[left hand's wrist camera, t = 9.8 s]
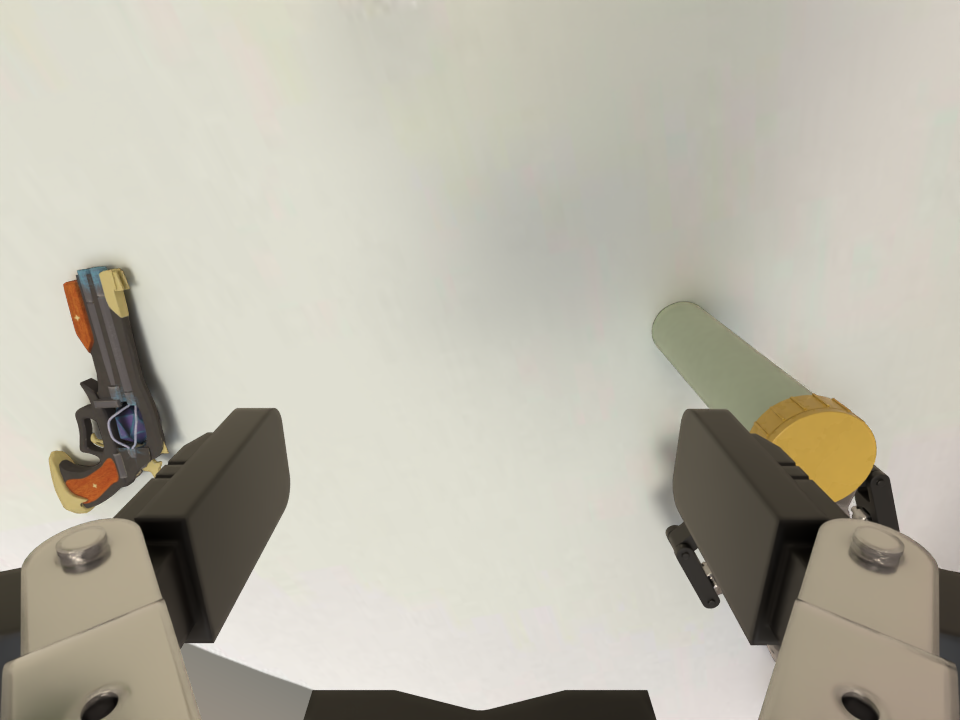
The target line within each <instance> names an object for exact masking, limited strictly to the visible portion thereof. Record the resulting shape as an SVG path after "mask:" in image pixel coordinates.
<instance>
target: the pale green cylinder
mask: <svg viewBox="0 0 960 720" xmlns="http://www.w3.org/2000/svg"><path fill="white" fill-rule="evenodd" d="M652 337H653V341H654V343H655V345H656V346H657V347H658V348H659V350H660V351H661V352H662V353H663V354H664V356H665V357H666V358H667V359H668V360H669V361H670V363H671V364H672V365H673V366H674V367H675V369H676V370H677V371H678V372H679V373H680V374H681V376H682V377H683V378H684V379H685V380H686V382H687V383H688V384H689V385H690V386H691V387H692V389H693V390H694V391H695V392H696V393H697V395H698V396H699V397H700V398H701V399H702V400H703V402H704V403H705V404H706V405H707V406H708V408H709V409H727V410H729V411H730V412H731V413H732V414H733V415H734V416H735V417H736V418H737V420H738V421H739V422H740V423H741V424H742V425H743V426H744V427H745V428H746V429H747V430H748V431H749V432H750V430H751V428H752V427H753V425H754V422H756V421H757V419H758V418H759V417H760V416H761V415H762V414H763V413H764V412H765V411H767V410H768V409H769V407H770V406H774V405H775V404H777V403H779V402H781V401H783V400H786V399H788V398H790V397H791V396H793V397H795V396H801V395H812V394H813V393H812V392H810V391H809V390H808V389H806V388H805V387H804V386H802V385H801V384H800V383H799V382H797V381H796V380H795V379H793V378H792V377H791V376H789V375H788V374H787V373H786V372H784V371H783V370H782V369H780V368H779V367H778V366H776V365H775V364H774V363H773V362H771V361H770V360H769V359H767V358H766V357H765V356H763V355H762V354H761V353H759V352H758V351H757V350H756V349H754V348H753V347H752V346H750V345H749V344H748V343H746V342H745V341H744V340H743V339H741V338H740V337H739V336H737V335H736V334H735V333H733V332H732V331H731V330H730V329H728V328H727V327H726V326H724V325H723V324H722V323H720V322H719V321H718V320H716V319H715V318H714V317H713V316H711V315H710V314H709V313H707V312H706V311H705V310H703V309H702V308H701V307H699V306H698V305H696V304H694V303H690V302H678V303H674V304H672V305H669V306H668V307H666V308H665V309H663V310H662V311H661V312H660V313H659V314H658V316H657V317H656V319H655V321H654V323H653V327H652Z"/></svg>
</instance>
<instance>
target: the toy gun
mask: <svg viewBox="0 0 960 720" xmlns="http://www.w3.org/2000/svg"><path fill="white" fill-rule="evenodd" d="M77 272H78V275H76V278H77V280H74V281H69V282H66V283H64V284H63V286H64V291H65V294H66V298H67V302H68V306H69V309H70V313H71V317H72V321H73V324H74V328H75V331H76V334H77V336H78V337H79V339H80V340H81V342H82V343H83V345H84V346H85V348H86V349H87V351H88V352H89V353H91V355H92V358H93V361H94V365H95V369H96V372H97V379H98V382H97V381H96V380H94V379H92V378H90V379H88V380H85V381H83V382H81V383H80V385H81V387H82V388H83V389H84V391H85V393H86V394H87V396H88V398H89V400H90V402H91V404H89V405H86V406H84V407H82V408H80V409H79V410H77V411H76V414H75V416H76V420H77V423H78V427H79V433H80V450H81V451H82V452H85V453H90V454H93V455H96V456H98V457H99V459H100V460H101V461H100V463H99V464H97V465H95V466H82V465H77V464H75V463H74V462H73V460H72V459H71V458H70V457H69V456H68V455H67V454H66V453H65V452H63V451H53V452H51V454H50V457H49V465H50V471H51V476H52V480H53V484H54V488H55V491H56V493H57V495H58V497H59V499H60V501H61V503H62V505H63V507H64V508H65V509H66V510H69V511H71V512H74V513H88V512H89V511H91V510H92V509H93V508H94V507H95V506H96V505H98V504H100V503H102V502H104V501H106V500H107V499H108V498H110V497H111V496H112V495H114V494H115V493H116V492H117V491H118V490H119V489H120V488H122V487H125V486H128V485H130V484H131V483H133V482H134V480H135V478H136V477H138V476H139V475H140V474H141V473H142V471H143V470H144V471H150V472H152V474H153V476H154V478H155V475H156V474H157V473H158V472H159V471H160V470H161V465H162V461H159V462H157V461H156V460H155V458H157V457H158V456H159V455H160V454H161V453H169V452H168V450H167V448H166V445H165V438H164V434H163V430H162V427H161V423H160V419H159V415H158V412H157V409H156V406H155V403H154V401H153V398H152V396H151V394H150V392H149V389H148V387H147V385H146V383H145V381H144V378H143V374H142V370H141V366H140V362H139V358H138V354H137V350H136V345H135V341H134V337H133V333H132V329H131V325H130V320H129V312H128V308H127V304H126V300H125V295H124V291H123V290H124V289H130V287H129V285H128V282H127V280H126V277H125V275H124V272H123V271H121V269H120V268H119V269H111V270H107V267H105V266H104V267H94V268H90V269H82V270H78V271H77ZM115 408H116V409H115ZM90 418H91V419H93V420H95V421H97V423H98V426H99V430H100V433H101V436H102V440H101V439H98V438H97V437H96V435H95V434H94V433H93V434H92V423H91V420H90ZM146 437H147V438H146ZM126 440H127V441H131V442H126ZM146 440H147V441H146ZM145 441H146V442H145ZM93 443H95V444H97V445H99V446H101V447H104V448H100V447H98V446H96V445H94V444H93ZM102 443H103V444H102Z"/></svg>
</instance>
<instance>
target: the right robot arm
mask: <svg viewBox="0 0 960 720" xmlns="http://www.w3.org/2000/svg"><path fill="white" fill-rule="evenodd" d="M854 496H855V500H856V505H857V506H853V507H852V508H851V511H852V512H853V514H852V519H860V520H865V521H870V522H874V523H877V524H880V525H883V526H886V527H889V528H891V529H893V530H896V531H898V532H900V531H899V526H898V520H897V515H896V510H895V505H894V499H893V494H892V489H891V483H890V479H889V477H888V476H887V475H886V474H885V473H883V472H882V471H881V470H880V469H879V468H877V467H876V466H875V465H873V468H872V470H871V472H870V474H869V475H868V477H867V478H866V479H865V481H864V482H863V483H862V484H861V485H860V486H859V487H858V488H857V489H856V490H855V491H853V492H852V493H851V494H850V495H848V496H846V497H845V498H843V499H841V500H839V501H837V502H835V503H836V504H837V505H838V506H839V507H840V508H841V509H842V510H843V511H844V512H845V513H846V514H847V515H848V516H850V515H849V511H848V506H849V504H850V502H851V500H852V498H853V497H854ZM666 536H667V538H668V540H669V542H670V544H671V545H672V547H673V549H674V553H675V555H676V557H677V559H678V561H679V563H680V565H681V567H682V568H683V570H684V572H685V574H686V575H687V577H688V579H689V581H690V582H691V584H692V586H693V588H694V590H695V591H696V593H697V595H698V597H699V598H700V600H701V602H702V604H703V605H704V607H706V608H715V607H717V606H718V605H719V603H720V599H719V597H718V595H719V594H722V591H721V589H720V587H719V586H718V584H717V582H716V580H715V578H714V576H713V574H712V573H711V571H710V569H709V567H708V565H707V563H706V562H703V563H702V564H701V563H700V561H699V559H698V557H697V555H696V554H695V552H694V551H695V550H696V549H697V548H698V547H697V545H696V543H695V541H694V539H693V537H692V536H691V534H690V532H689V530H688V528H687V526H686V524H685V523H684V522H683V523H682V524H681V525H679V526H677V525H673V526H670V527H668V528H667V530H666ZM767 647H768V649H769V651H770V653H771V655H772V657H773V659H774V661H775V662H776V661H777V657H778V654H779V651H780V648H781V645H767Z"/></svg>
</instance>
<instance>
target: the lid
mask: <svg viewBox="0 0 960 720" xmlns="http://www.w3.org/2000/svg"><path fill="white" fill-rule="evenodd" d="M750 433H756V434H758V435H760V436H761V437H763V438H765V439H767V440H768V441H770V442H772V443H774V444H776V445H777V446H779V447H781V448H782V450H783V451H784V452H785V453H786V454H787V455H788V456H789V457H790V458H791V459H792V460H793V461H794V462H795V463H796V466H799V467H800V468H801V469H802V470H803V471H804V472H805V473H806V474H807V475H808V476H809V480H813V481H814V482H815V483H816V484H817V485H818V486H819V487H820V488H821V489H822V490H823V491H824V492H825V493H826V494H827V495H828V496H829V497H830V498H831V499H832V500H833V501H834V502H837V501H839V500H841V499H843V498H845V497H846V496H848V495H850V494H851V493H852V492H853V491H855V490H856V489H857V488H858V487H859V486H860V485H861V484H862V483H863V482H864V481H865V479H866V478H867V477H868V475H869V474H870V472H871V470H872V468H873V465H874V462H875V458H876V449H877V448H876V441H875V438H874V435H873V433H872V431H871V430H870V428H869V427H868V426H867V425H866V424H865V422H864V421H863V420H862V419H860V418H859V417H858V416H856V415H855V414H854V413H852V412H851V410H849V409H848V408H847V407H845V406H844V405H843V404H841V403H840V402H838V401H837V400H836V399H834V398H832V399H830V398H827V397H824V396H818V395H816V394H812V395H801V396H795V397H793V396H791V397H790V398H788V399H786V400H783V401H781V402H779V403H777V404H775V405H774V406H770V407H769V409H768V410H767V411H765V412H764V413H763V414H762V415H761V416H760V417H759V418H758V419H757V421H756V422H754V425H753V427H752V428H751V430H750Z"/></svg>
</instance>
